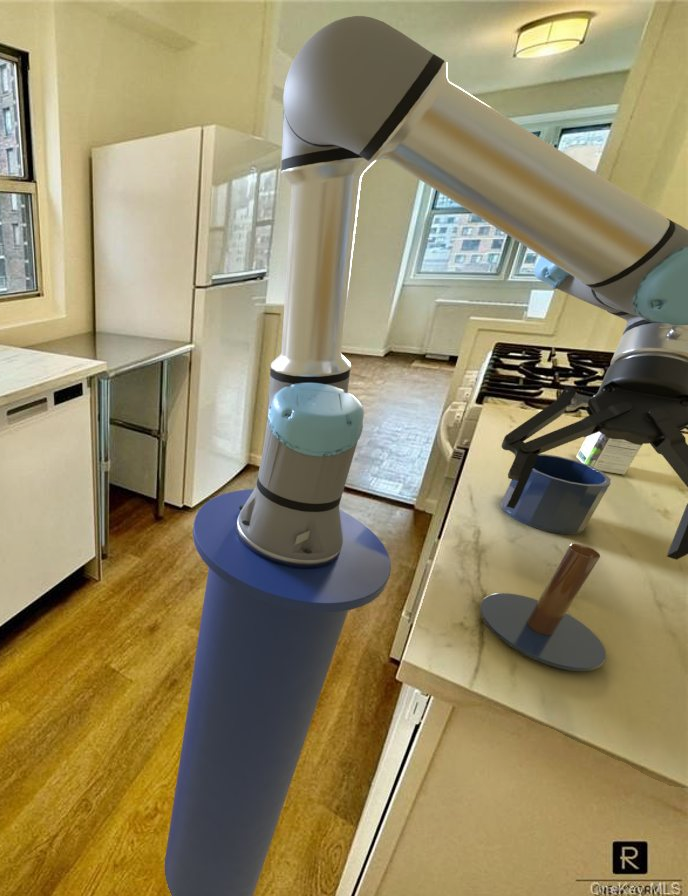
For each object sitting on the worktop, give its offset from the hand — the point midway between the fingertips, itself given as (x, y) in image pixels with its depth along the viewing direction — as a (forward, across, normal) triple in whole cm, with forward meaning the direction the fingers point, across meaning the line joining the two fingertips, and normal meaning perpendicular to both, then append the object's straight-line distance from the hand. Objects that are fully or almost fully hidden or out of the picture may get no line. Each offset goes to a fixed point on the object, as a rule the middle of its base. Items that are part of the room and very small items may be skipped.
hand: (588, 527), depth 54 cm
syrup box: (-31, +4, +48) cm, 57 cm away
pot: (-10, -2, +26) cm, 28 cm away
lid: (+12, 0, +3) cm, 13 cm away
